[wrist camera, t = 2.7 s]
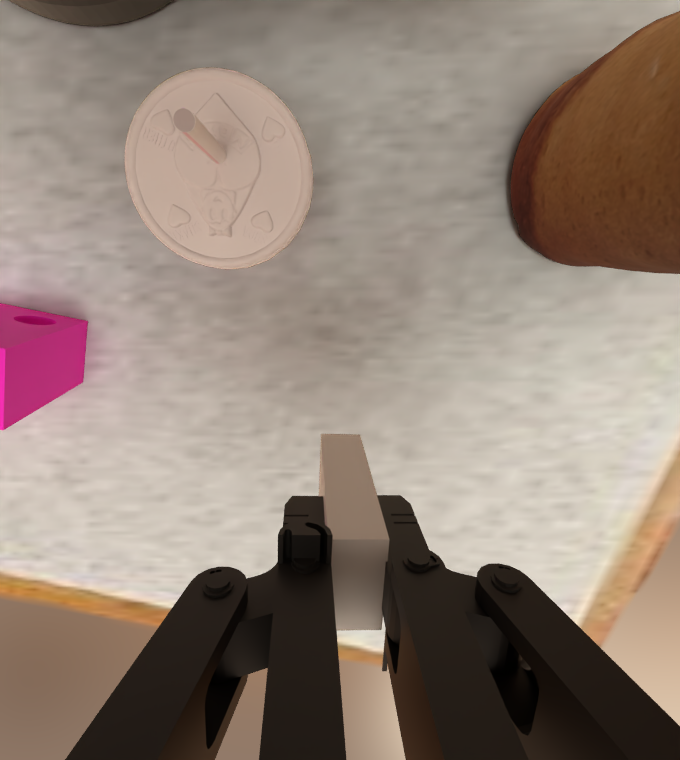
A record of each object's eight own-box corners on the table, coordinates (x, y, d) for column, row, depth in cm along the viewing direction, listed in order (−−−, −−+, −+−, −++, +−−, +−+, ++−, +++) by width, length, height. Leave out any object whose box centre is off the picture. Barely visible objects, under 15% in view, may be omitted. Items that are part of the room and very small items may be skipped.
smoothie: (313, 140, 24) (320, 2, 10) (310, 264, 26) (312, 284, 12) (190, 132, 23) (28, -26, 10) (196, 259, 25) (66, 273, 12)
